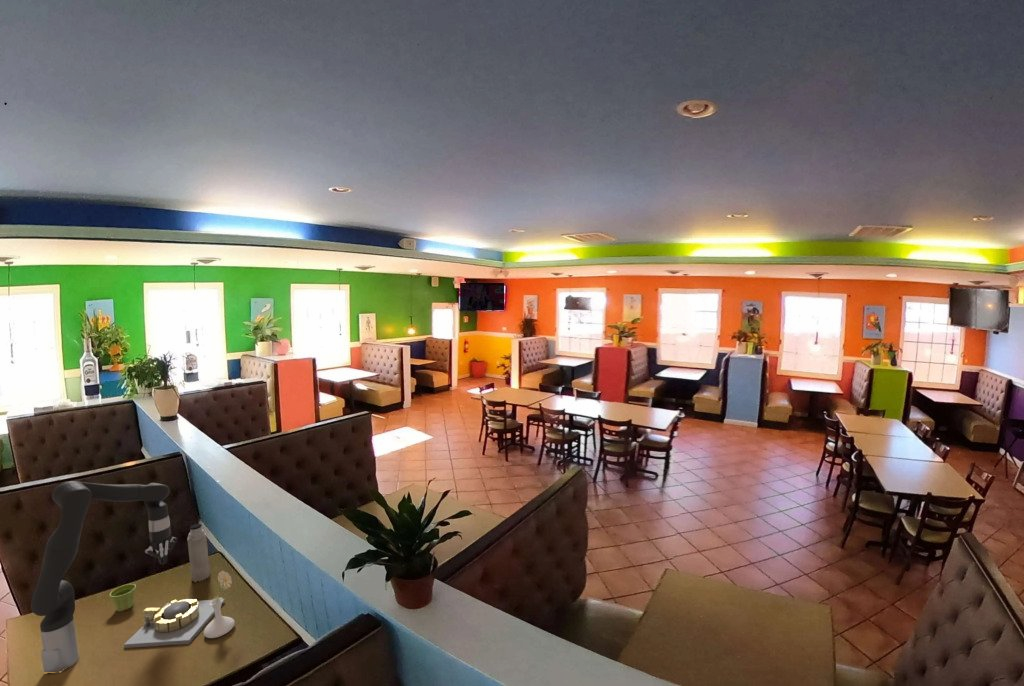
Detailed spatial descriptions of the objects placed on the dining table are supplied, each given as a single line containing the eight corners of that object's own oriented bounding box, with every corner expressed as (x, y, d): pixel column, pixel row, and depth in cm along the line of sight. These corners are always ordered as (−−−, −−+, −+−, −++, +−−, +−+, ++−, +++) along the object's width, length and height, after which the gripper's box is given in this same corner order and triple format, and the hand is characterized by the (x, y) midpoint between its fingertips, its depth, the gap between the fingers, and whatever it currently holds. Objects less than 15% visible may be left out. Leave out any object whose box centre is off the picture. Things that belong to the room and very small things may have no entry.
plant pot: (123, 615, 210) (121, 597, 209) (106, 613, 212) (104, 595, 211) (143, 601, 219) (141, 584, 218) (126, 600, 221) (124, 583, 220)
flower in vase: (220, 642, 191) (214, 586, 188) (197, 639, 193) (191, 583, 191) (244, 621, 204) (239, 567, 201) (222, 618, 206) (217, 565, 203)
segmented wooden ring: (206, 606, 211) (205, 596, 210) (181, 631, 195) (180, 620, 194) (160, 607, 211) (158, 597, 210) (131, 632, 195) (130, 621, 195)
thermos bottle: (199, 572, 242) (194, 521, 239) (213, 572, 241) (208, 521, 238) (187, 581, 234) (182, 529, 231) (202, 582, 233) (196, 529, 230)
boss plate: (189, 643, 191) (187, 626, 190) (123, 648, 190) (121, 631, 189) (224, 602, 217) (223, 587, 216) (166, 605, 215) (165, 590, 215)
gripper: (170, 518, 213) (174, 554, 215) (138, 532, 201) (141, 569, 203) (180, 521, 210) (184, 557, 212) (147, 535, 198) (151, 573, 200)
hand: (163, 563), depth 208 cm, fingers closed
